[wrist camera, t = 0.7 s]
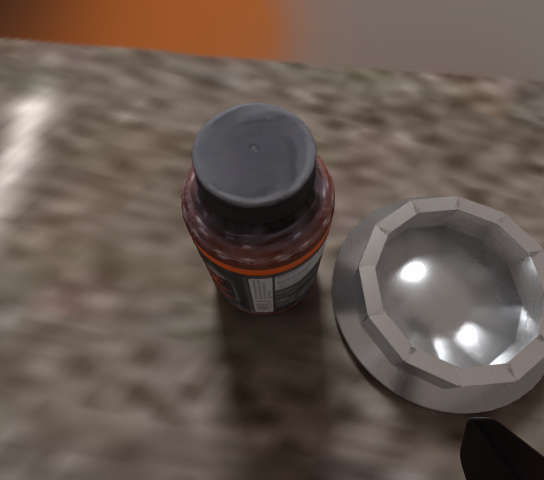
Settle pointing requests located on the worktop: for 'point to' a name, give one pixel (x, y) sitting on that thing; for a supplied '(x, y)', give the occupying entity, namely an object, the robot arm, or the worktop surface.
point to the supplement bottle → (258, 206)
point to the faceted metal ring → (443, 303)
